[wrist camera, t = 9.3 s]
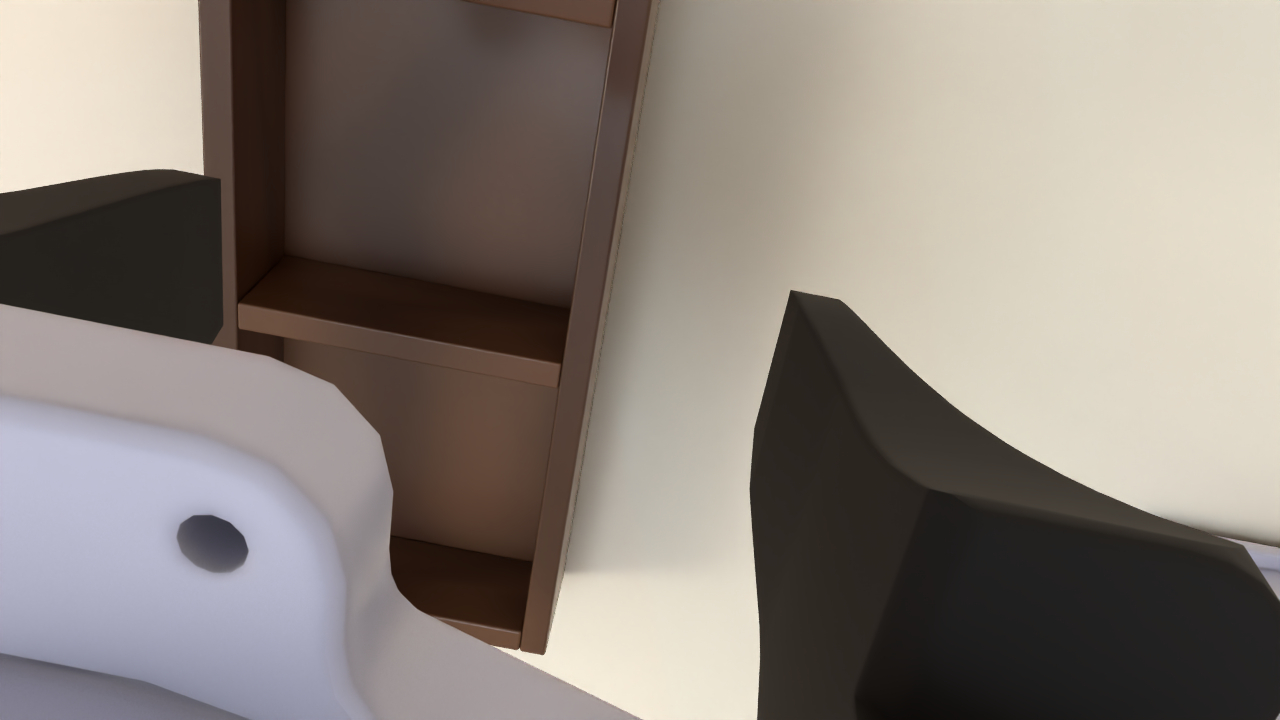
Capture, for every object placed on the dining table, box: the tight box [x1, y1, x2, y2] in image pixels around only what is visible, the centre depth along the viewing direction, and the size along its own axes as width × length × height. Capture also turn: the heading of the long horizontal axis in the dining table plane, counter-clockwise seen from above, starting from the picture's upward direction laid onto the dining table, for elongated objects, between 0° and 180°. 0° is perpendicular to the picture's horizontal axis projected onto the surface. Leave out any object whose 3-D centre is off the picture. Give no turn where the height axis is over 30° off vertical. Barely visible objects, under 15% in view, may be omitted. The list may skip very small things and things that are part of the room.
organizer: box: [198, 0, 660, 655], centre depth 21 cm, size 8×22×3 cm, turn 170°
